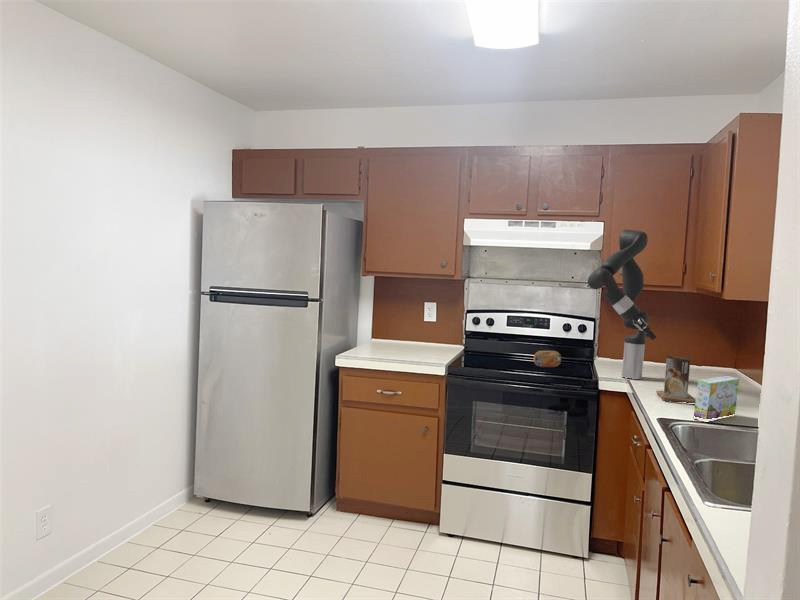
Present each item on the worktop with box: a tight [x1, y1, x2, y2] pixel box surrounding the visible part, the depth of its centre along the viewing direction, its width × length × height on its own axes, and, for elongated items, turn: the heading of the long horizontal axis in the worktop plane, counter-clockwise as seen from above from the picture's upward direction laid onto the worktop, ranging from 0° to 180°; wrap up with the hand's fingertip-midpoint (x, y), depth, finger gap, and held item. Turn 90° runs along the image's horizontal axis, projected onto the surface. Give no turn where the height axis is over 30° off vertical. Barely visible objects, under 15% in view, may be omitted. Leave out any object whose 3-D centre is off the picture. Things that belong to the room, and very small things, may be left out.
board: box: [655, 390, 696, 403], centre depth 251 cm, size 14×13×2 cm
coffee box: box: [663, 355, 691, 398], centre depth 250 cm, size 9×6×16 cm
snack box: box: [693, 375, 740, 419], centre depth 223 cm, size 21×6×15 cm, turn 126°
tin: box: [533, 350, 562, 368], centre depth 309 cm, size 15×3×8 cm, turn 105°
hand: (652, 337), depth 251 cm, fingers open, 8 cm apart
